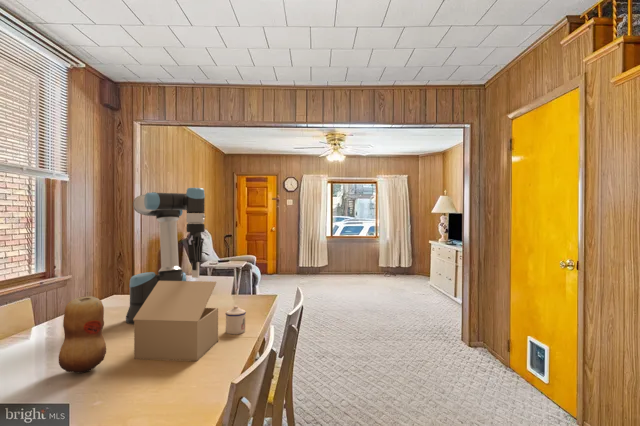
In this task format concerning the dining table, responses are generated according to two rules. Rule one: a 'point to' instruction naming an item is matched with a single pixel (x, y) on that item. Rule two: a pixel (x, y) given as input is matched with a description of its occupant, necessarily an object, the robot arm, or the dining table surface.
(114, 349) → the dining table surface
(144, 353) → the carton
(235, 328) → the teacup with lid
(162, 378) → the dining table surface
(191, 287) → the carton lid
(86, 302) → the butternut squash
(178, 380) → the dining table surface
